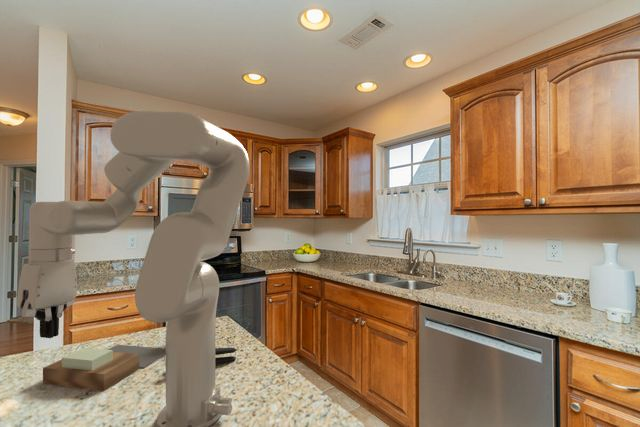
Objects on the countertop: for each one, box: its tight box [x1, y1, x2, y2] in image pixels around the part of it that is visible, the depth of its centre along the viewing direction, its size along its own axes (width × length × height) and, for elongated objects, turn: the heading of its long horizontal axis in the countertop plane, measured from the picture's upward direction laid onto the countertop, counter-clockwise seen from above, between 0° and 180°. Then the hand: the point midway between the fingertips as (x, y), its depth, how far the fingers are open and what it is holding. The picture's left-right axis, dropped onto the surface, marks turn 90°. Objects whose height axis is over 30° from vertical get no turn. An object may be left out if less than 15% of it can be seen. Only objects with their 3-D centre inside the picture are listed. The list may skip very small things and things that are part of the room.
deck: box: [42, 352, 140, 392], centre depth 81 cm, size 18×11×4 cm, turn 79°
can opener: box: [215, 347, 237, 366], centre depth 86 cm, size 18×7×6 cm, turn 118°
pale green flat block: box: [61, 347, 113, 370], centre depth 80 cm, size 9×6×2 cm, turn 79°
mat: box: [107, 344, 166, 369], centre depth 93 cm, size 20×12×1 cm, turn 79°
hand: (49, 336), depth 71 cm, fingers closed
